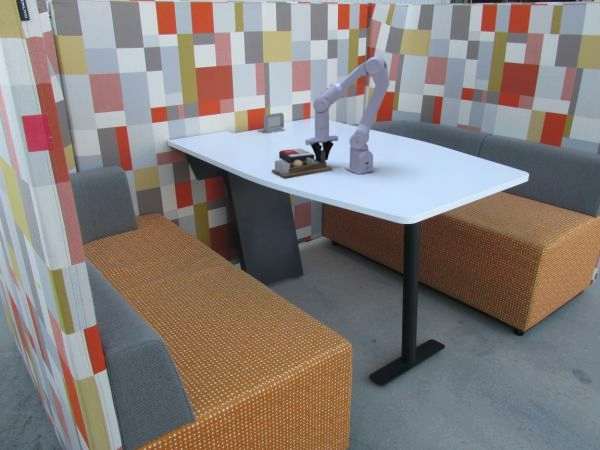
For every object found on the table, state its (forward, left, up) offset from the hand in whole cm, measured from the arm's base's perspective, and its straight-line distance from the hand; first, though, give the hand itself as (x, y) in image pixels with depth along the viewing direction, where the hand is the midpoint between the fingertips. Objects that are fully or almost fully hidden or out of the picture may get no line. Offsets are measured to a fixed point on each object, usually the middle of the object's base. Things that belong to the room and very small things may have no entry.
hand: (321, 160), depth 207 cm
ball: (0, +12, 0) cm, 12 cm away
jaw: (0, +2, -2) cm, 3 cm away
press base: (0, +10, -3) cm, 10 cm away
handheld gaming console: (+81, -18, -4) cm, 83 cm away
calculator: (+17, +2, -4) cm, 18 cm away
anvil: (0, +19, -3) cm, 19 cm away
